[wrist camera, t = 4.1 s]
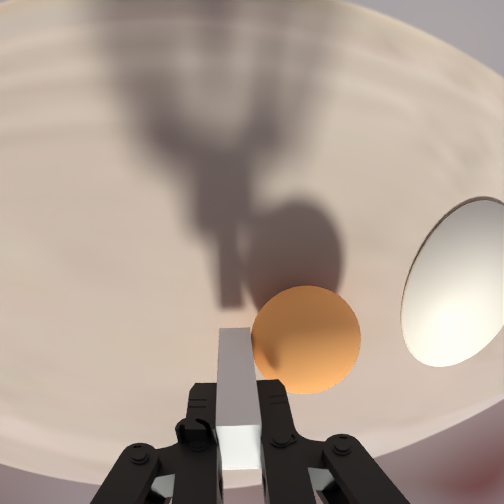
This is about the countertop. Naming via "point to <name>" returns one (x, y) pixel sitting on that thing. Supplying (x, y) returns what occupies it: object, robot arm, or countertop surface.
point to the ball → (306, 339)
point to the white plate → (456, 287)
